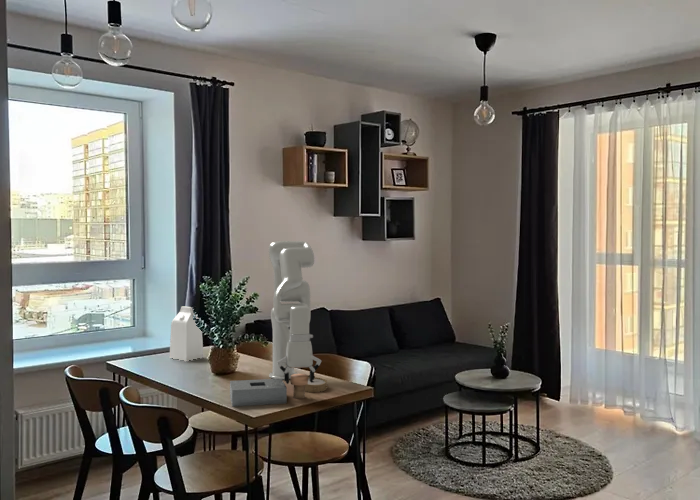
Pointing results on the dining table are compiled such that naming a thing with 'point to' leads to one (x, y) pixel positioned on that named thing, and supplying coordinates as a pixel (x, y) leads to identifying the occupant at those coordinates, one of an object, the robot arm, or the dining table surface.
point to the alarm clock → (316, 385)
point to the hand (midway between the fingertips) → (299, 382)
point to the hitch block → (258, 392)
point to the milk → (185, 336)
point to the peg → (299, 385)
